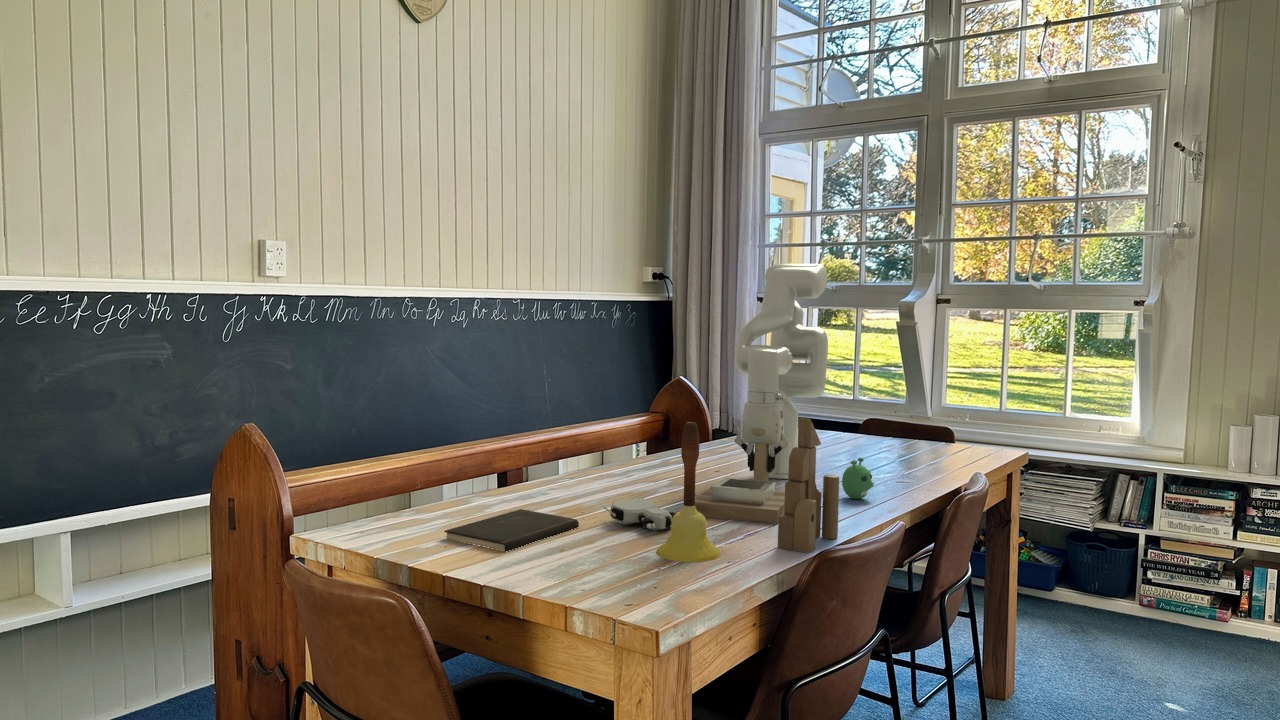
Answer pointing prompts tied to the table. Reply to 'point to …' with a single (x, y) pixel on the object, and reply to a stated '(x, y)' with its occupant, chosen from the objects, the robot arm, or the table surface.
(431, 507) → the table surface
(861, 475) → the alien toy
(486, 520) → the hardcover book
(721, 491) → the collar
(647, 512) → the robot toy
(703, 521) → the handbell
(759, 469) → the handle
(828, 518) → the wooden toy
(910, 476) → the table surface
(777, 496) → the board
